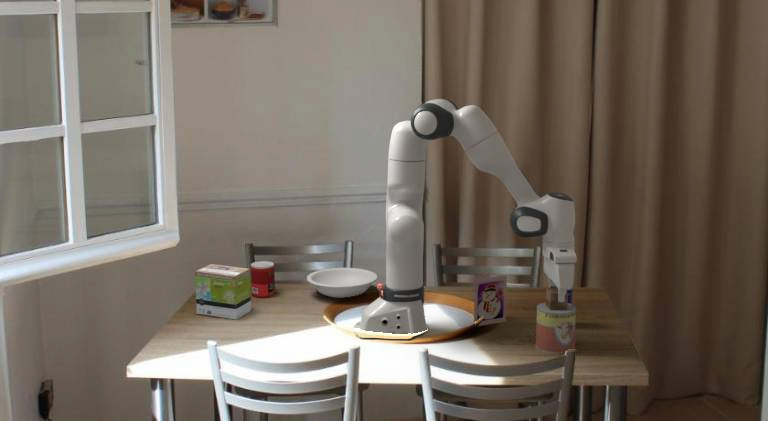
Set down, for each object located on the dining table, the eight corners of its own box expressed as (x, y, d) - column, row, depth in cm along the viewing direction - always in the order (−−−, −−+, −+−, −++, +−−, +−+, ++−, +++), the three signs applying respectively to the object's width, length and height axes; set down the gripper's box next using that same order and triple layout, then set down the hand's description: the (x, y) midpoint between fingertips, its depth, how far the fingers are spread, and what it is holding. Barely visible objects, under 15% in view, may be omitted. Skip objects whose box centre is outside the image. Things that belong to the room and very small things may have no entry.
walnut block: (550, 310, 294) (550, 293, 293) (545, 304, 299) (546, 288, 298) (567, 309, 294) (567, 292, 293) (562, 304, 299) (563, 287, 298)
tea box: (195, 315, 330) (193, 270, 327) (212, 306, 339) (210, 262, 336) (236, 320, 325) (234, 275, 322) (252, 311, 334) (250, 267, 331)
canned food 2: (549, 355, 292) (550, 315, 289) (528, 343, 302) (529, 304, 299) (582, 350, 296) (584, 309, 294) (560, 338, 306) (562, 299, 304)
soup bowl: (315, 284, 364) (314, 266, 363) (382, 286, 361) (382, 268, 360) (300, 304, 341) (299, 285, 340) (372, 307, 338) (371, 287, 336)
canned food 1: (273, 298, 348) (272, 266, 345) (250, 298, 348) (249, 266, 346) (276, 291, 355) (275, 261, 353) (253, 292, 355) (252, 261, 353)
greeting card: (475, 327, 316) (476, 280, 313) (463, 320, 323) (464, 274, 320) (507, 322, 321) (508, 275, 318) (494, 315, 328) (495, 270, 325)
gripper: (538, 241, 303) (537, 286, 306) (556, 258, 283) (554, 307, 286) (560, 240, 303) (558, 286, 306) (578, 258, 283) (576, 306, 286)
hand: (556, 296), depth 296 cm, fingers open, 8 cm apart
